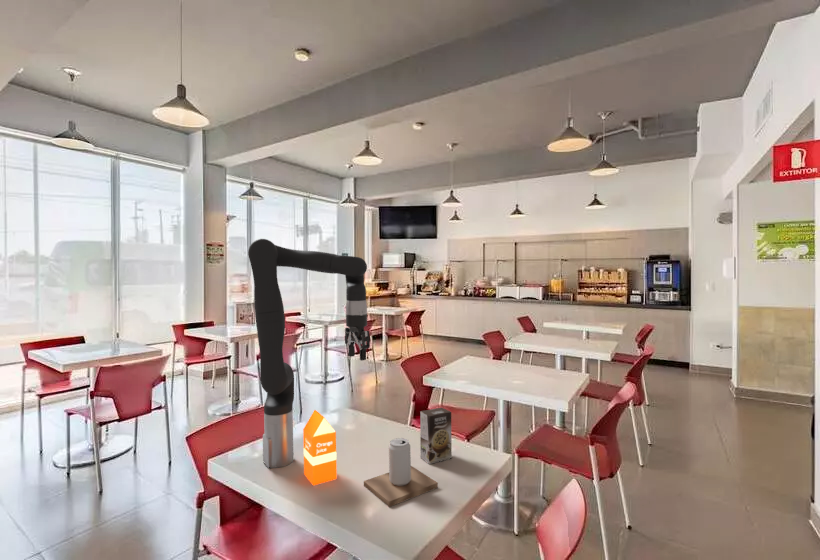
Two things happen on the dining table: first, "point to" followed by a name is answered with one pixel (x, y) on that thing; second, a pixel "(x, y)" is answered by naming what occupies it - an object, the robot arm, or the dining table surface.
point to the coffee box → (435, 435)
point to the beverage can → (399, 462)
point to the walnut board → (400, 487)
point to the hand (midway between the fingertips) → (357, 358)
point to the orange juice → (319, 450)
